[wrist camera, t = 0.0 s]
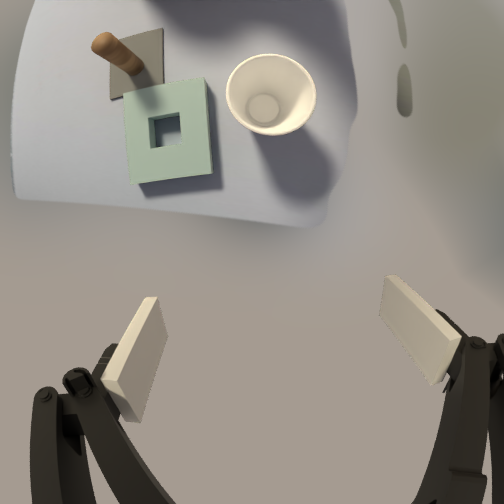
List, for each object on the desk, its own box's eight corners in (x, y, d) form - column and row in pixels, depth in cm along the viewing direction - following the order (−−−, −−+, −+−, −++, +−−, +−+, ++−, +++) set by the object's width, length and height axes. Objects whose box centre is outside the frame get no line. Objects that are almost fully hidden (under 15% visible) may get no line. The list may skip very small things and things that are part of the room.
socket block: (130, 97, 34) (123, 93, 31) (206, 82, 34) (204, 77, 32) (137, 182, 39) (130, 185, 36) (213, 172, 39) (211, 173, 36)
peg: (126, 61, 32) (92, 37, 20) (143, 57, 32) (113, 29, 20) (126, 77, 33) (90, 56, 21) (144, 73, 33) (112, 48, 21)
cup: (255, 153, 38) (260, 152, 28) (216, 101, 35) (207, 82, 25) (309, 119, 37) (333, 107, 27) (271, 67, 34) (282, 40, 24)
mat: (112, 43, 30) (111, 42, 30) (162, 28, 30) (162, 28, 30) (110, 99, 34) (109, 99, 34) (163, 86, 34) (163, 86, 34)
